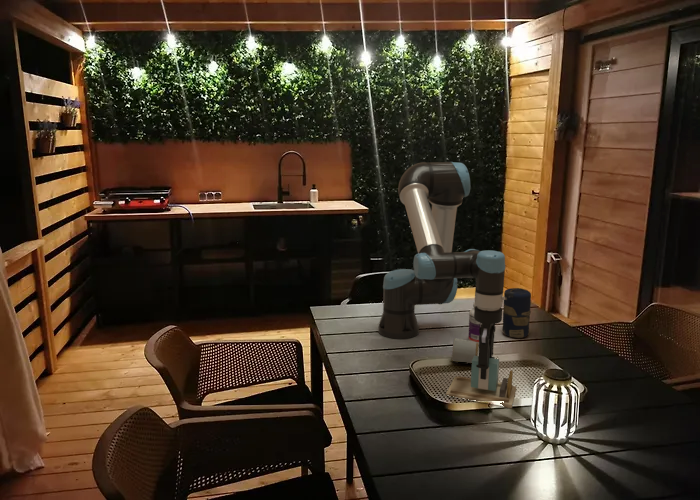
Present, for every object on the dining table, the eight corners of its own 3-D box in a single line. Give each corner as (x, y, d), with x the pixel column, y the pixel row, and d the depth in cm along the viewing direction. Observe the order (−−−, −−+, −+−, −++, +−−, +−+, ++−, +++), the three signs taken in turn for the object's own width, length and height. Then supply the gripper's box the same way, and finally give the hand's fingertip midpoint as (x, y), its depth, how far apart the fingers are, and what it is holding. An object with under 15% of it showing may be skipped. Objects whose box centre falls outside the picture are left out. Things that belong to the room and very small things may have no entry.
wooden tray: (446, 396, 157) (446, 373, 155) (454, 379, 168) (455, 358, 166) (511, 408, 150) (513, 384, 149) (516, 389, 161) (517, 367, 160)
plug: (470, 387, 158) (471, 360, 156) (473, 381, 161) (474, 355, 160) (495, 391, 155) (497, 364, 153) (497, 385, 159) (499, 359, 157)
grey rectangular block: (477, 367, 176) (478, 345, 175) (451, 365, 178) (452, 342, 177) (478, 355, 186) (479, 333, 185) (453, 353, 188) (454, 331, 187)
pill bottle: (489, 338, 201) (491, 300, 198) (492, 346, 194) (495, 307, 191) (467, 337, 202) (468, 299, 199) (469, 345, 194) (471, 306, 191)
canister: (531, 339, 200) (535, 291, 196) (505, 339, 200) (508, 291, 196) (524, 330, 209) (527, 284, 205) (499, 330, 209) (501, 284, 206)
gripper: (498, 317, 144) (493, 400, 149) (506, 299, 160) (501, 375, 164) (469, 314, 147) (465, 395, 152) (480, 297, 162) (476, 371, 167)
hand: (484, 384), depth 158 cm, fingers closed on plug, 4 cm apart
